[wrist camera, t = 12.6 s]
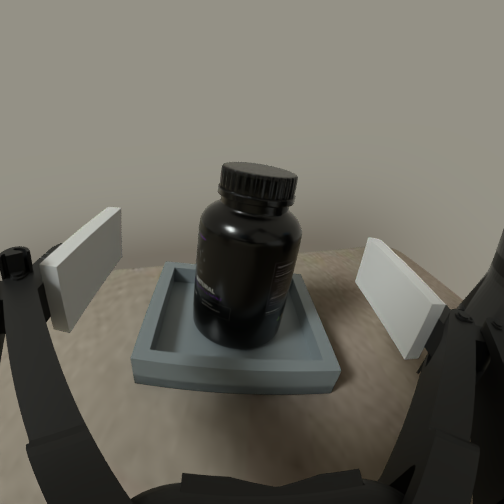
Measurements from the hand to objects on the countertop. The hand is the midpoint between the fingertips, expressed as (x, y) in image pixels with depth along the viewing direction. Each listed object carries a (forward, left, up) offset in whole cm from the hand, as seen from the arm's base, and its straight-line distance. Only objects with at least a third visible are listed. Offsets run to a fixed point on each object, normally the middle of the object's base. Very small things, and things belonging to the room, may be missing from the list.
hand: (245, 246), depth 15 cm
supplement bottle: (-1, -5, -9) cm, 10 cm away
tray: (-1, -5, -9) cm, 11 cm away
